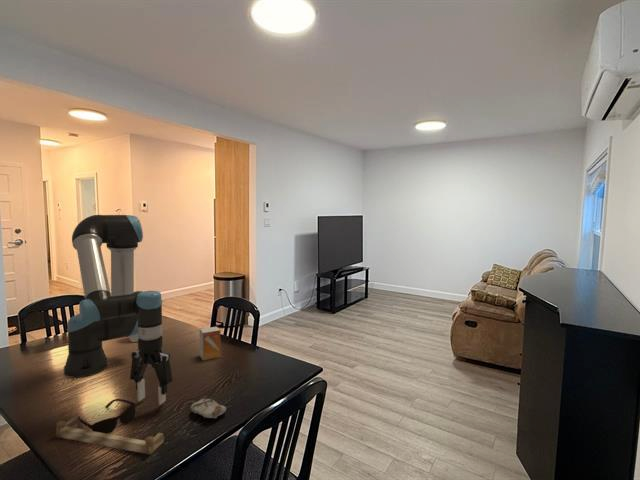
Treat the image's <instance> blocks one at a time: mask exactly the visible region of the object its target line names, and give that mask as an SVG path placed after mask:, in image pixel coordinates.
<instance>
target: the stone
mask: <svg viewBox="0 0 640 480" xmlns="http://www.w3.org/2000/svg"><path fill="white" fill-rule="evenodd" d="M190 409H191V411H192V413H194V414H198V415H200V416H202V417H203V418H205V419H206V418H207V419H217V418H218V416H221V415H224V413H225V412H226V410H227V407H226V405H225V406H224V405H222V404H219V403H218V401H215V400H214V399H210V398H205V397H203V398H202V397H201V398H199V400H198V401H196V402H193V403H192V404H191V405H190Z"/></svg>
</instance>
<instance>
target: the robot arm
mask: <svg viewBox="0 0 640 480" xmlns="http://www.w3.org/2000/svg"><path fill="white" fill-rule="evenodd" d="M143 238H144V232H143V227H142V224H141V221H140V219H139V218H138V216H135V215H129V214H95V215H89V216H87V217H85V218H83V219H82V220H81V221H80V222H79V223H78V224H77V225H76V227H75V228H74V230H73V232H72V235H71V243H72V247H73V249H74V250H76V254H77V258H78V265H79V269H80V270H79V271H80V277H81V281H82V282H81V283H82V288H83V295H84V299H83V300H81V301H79V303H78V304H79V305H78V307H79V309H78V310H79V313H78V314H74V315H73V316H72V317H70V318H69V319H68V320H67V329H66V331H67V341H68V342H67V343H68V344H67V347H68V354H67V358H66V361H65V362H66V363H65V364H64V366H63V375H64V376H67V377H71V378H72V377H75V378H76V377H78V378H79V377H85V376H91V375H93V374H96V373H98V372H100V371H103V370H105V369H106V368H107V367H108V363H109V360H108V358H107V356H106V353H105V351H104V349H103V342H106V341H111V340H117V339H123V338H128V337H129V336H131V335H135V334H137V333H138V338H139V339H138V342H137V349H136V350H134V351H132V352H131V353H130V354H131V360H132V361H131V367H130V376H129V379H130V380H133V381H134V382H135V390H136V391H137V392H136V393H137V395H136V396H137V402H140V401H142V400H143V399H145V398H146V381H145V380H146V379H144V378H145V376H144V375H145V373H146V370H147V368H148V364H149V365H151V367H152V368H153V369H154V372H155V375H156V376H157V379H158V381H159V385H157V386H158V387H157V389H158V390H157V391H158V393H157V394H158V405H159V406H161V405H163V403H165V402H166V401H167V396H166V395H167V393H168V385H169V384H171V383H172V382H173V374H172V368H171V363H170V362H171V361H170V358H171V354H170V353H167V354H166V353H163V350H162V348H163V312H162V311H163V310H162V309H163V308H162V307H163V305H162V304H163V299H162V293H161V292H160V291H158V290H147V291H144V290H143V291H142V290H136V291H135V289H134V288H135V287H134V286H135V280H134V279H135V275H134V274H135V251H136V249H138V247H139V243H142V241H143ZM103 244H106V248H107V249H108V250H109V251H110V284H109V279H108V276H107V275H108V274H107V271H106V266H105V262H104V258H103V253H102V245H103Z"/></svg>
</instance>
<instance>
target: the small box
mask: <svg viewBox="0 0 640 480" xmlns="http://www.w3.org/2000/svg"><path fill="white" fill-rule="evenodd" d="M199 358H201V360H202V362H203V361H208V360H212V359H217V358H221V329H220V328H219V327H218V326H212V327H211V326H210V327H205V328H199Z"/></svg>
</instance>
